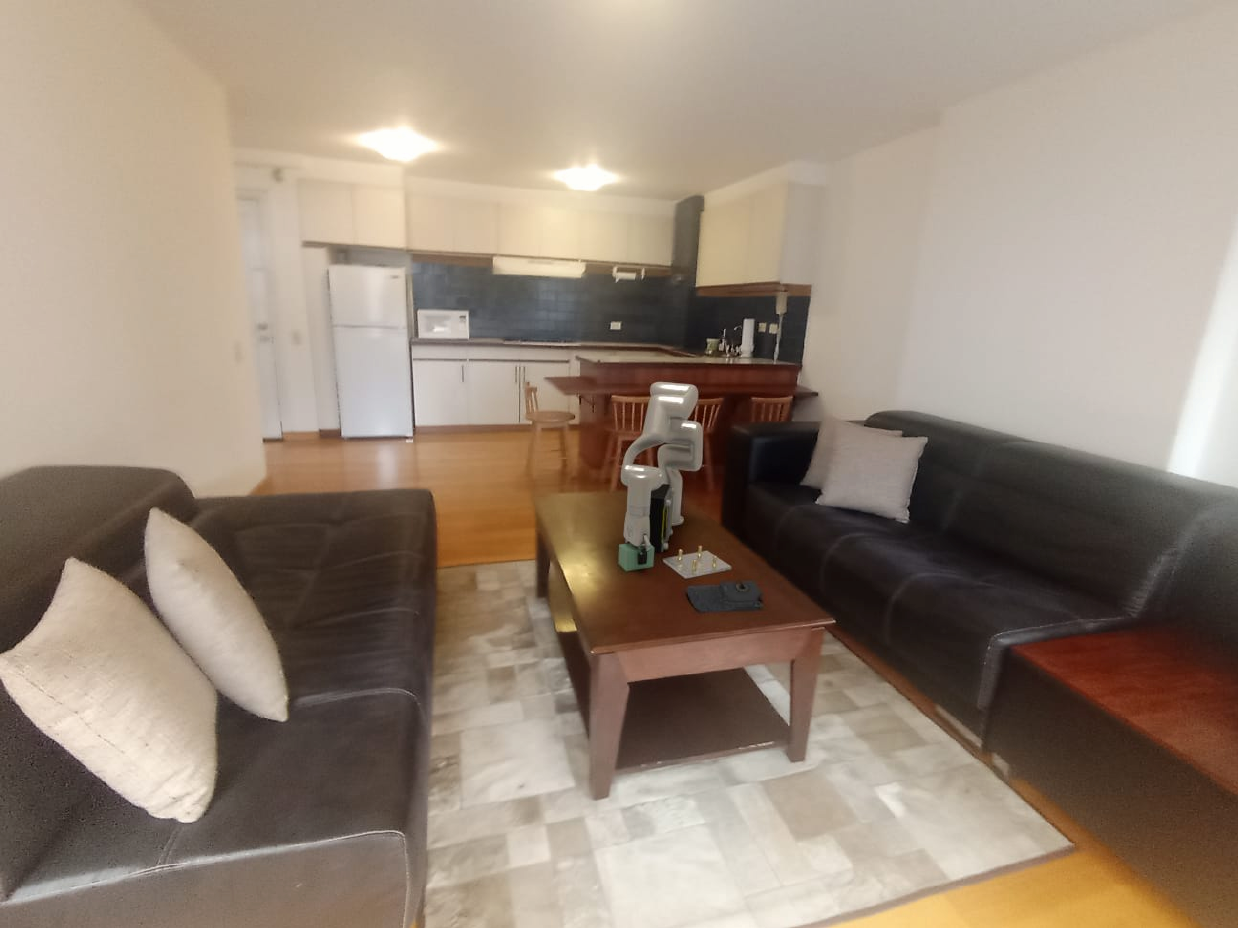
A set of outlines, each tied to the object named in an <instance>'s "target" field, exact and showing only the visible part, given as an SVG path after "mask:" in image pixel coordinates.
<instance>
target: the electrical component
mask: <svg viewBox="0 0 1238 928" xmlns="http://www.w3.org/2000/svg"><path fill="white" fill-rule="evenodd" d="M671 488H672V486H670V485H668V484H662V485H661V486H660V487H659V488H658V489H656V490H653V491H651V501H650V515H649V522H650V538H649V542H650V544H651V545H652V546H653V547H654V553H655V554H656V553H657V554H661V553H663V552H664V550H668V549H669V543H668V541H669V538H670V536H672V535H673V529H672V526H671V524H672V509H673V496H672V495H674V494H675V489H671ZM671 494H672V495H671Z"/></svg>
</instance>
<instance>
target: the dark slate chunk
mask: <svg viewBox="0 0 1238 928" xmlns="http://www.w3.org/2000/svg"><path fill="white" fill-rule="evenodd" d="M685 591H686V592H687V596H688V598H689V600H690V603H691V605H692V606H693V608H694V609H695V610H696V611H697V612H699V613H701V614H702V613H706V614H707V613H708V614H709V613H732V612H747V611H748V612H750V611H751V612H752V611H762V610H763V608H765V606H764V604H763V603H762V602H761V601H760V599H762V596H763V592H762V590H761V589H760V588H758V586H757V584H756V581H755V580H753V579H751V580H741V581H740V582H735V581H729V582H727V581H720V583H719V585H717V584H708V585H688V586H687V587H686V589H685Z"/></svg>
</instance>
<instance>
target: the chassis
mask: <svg viewBox="0 0 1238 928" xmlns="http://www.w3.org/2000/svg"><path fill="white" fill-rule="evenodd" d="M662 561H663V563H664V564H666V565H667V566H668V567H670V568H671V569H673V571H675V572H676V573H677V574H678V575H680V576H681V577H682V578H684V579H690V578H696V577H700V576H705V575H710V574H715V573H721V572H725V571H729V570H732V566H731V565H729V564H728V563H726V562H725V561H724V560H722V559H720V558H719V557H718V556H717V555H715V554H713V553H711V552H710V551H708V550H703V546H702V545H698V551H697V552H692V553H686V554H683V549H681V548H680V549H679V548H678V555H676V556H675V555H674V556H671V557H670V556H669V557H666V558H663V559H662Z"/></svg>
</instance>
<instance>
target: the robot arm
mask: <svg viewBox="0 0 1238 928" xmlns="http://www.w3.org/2000/svg"><path fill="white" fill-rule="evenodd" d="M649 392H650V399H649V401H648V405H647V409H646V413H645V420H644V424H643V428H642V429H643V430H642V434H641V435H640V436H639V437H638V438H637V439H636V440H635V441H633V442H632V444H631V445H630V446H629V447H627V448H628V449H627V450H626V452H625V454H624V457H623V461H622V466H621V470H620V481H621V483H622V484H623V485H624V486H626V487H627V499H626V501H627V502H626V512H625V515H624V516H625V518H624V525H623V538H624V539H625V540H624V541H625V542H624V543H625V544H627V543H632V544H633V545H634V546H636V547H637V546H638V549H639V553H638V565H643V564H647V553H648V551H649V550H650V548H651V544H650V542H649V538H650V522H649V515H650V501H651V491H653V490H656V489H658V488H659V487H660V486H661V485H662V484H668V485H670V486H672V488H671V489H675V494H674V495H672V494H671V495H672V496H673V509H672V524H671V527H675V526H679V525H682V524H684V517H683V516H682V515H681V510H682V508H681V506H682V492H683V477H682V475H681V473H680V470H681V471H686V472H687V471H688V472H689V471H691V472H697V471H699V470H700V469H701V467H702V464H703V450H704V449H703V448H704V429H703V426H702V424H701V423H700V422H698V421H693V420H688V419H689V418H690V416H691V415H692V413H693V411H694V409H695V407H696V405H697V404H698V400H699V390H698V388H697V386H696V385H694V384H691V383H690V384H689V383H679V382H677V383H676V382H667V381H665V382H664V381H657V382H654V383H652V384H651V385H650V387H649ZM664 443H666V444H664ZM660 445H661V446H660ZM656 446H660V447H659V448H658V450H657V463H658V467H656V466H649V465H642V464H635V463H634V461H635V458H636V457H637V456H638V455H639V454H640V453H641V452H643V451H645V450H647V449H650V448H653V447H656ZM642 542H643V543H644V544H641V543H642ZM641 546H644V548H643V549H642V548H641Z"/></svg>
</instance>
